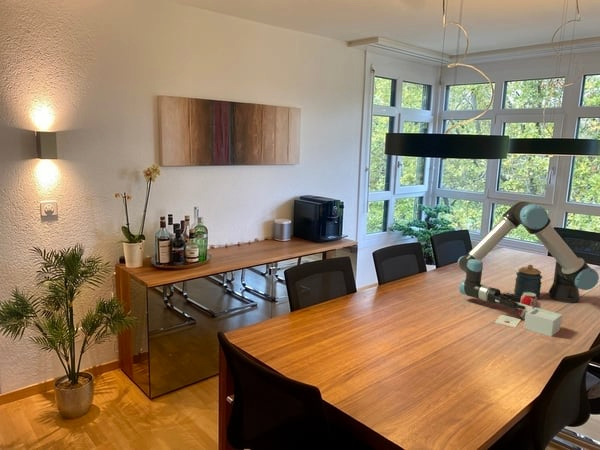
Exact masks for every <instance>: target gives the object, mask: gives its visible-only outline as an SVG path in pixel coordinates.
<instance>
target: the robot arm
mask: <svg viewBox="0 0 600 450" xmlns="http://www.w3.org/2000/svg"><path fill="white" fill-rule="evenodd" d="M500 218H501V219H500V220H499V221H498V222H497V223H496V224H495V225H494V226H493V227H492V228H491V229H490V230H489V231H488V233H486V234H485V236H483V238H482V239H480V240H479V242H477V244H476V245H474V247H473V248H472V249H471V250H469V252H467V254H466V255H463V256H462V255H461V256H460V257H459V258H458V260H457V265H458V268H460V269H461V271H463V272H464V273H465V279H463V280H461V282H460V284H459V293H461V295H465V296H467V297H471V298H475V299H478V300H481V301H482V302H485V301H486V302H488V303H491V304H495V305H496V304H498V305H502V306H503V307H507V308H509V309H512V310H515V311H517V310H519V309H521V310H524V311H527V312H528V311H530V310H532V309H533V307H532V306H528V305H525V304H521V303H520V300H521V296H518V295H515V294H513V293H509V292H506V293H501V290H500V289H499V288H496V287H492V286H489V285H484V284H481V283H482V276H483V275H482V274H483V269H484V263H483V261H482V260H483V259H484V258H486V256H487V255H488V254H489V253H491V251H492V250H493V249H494V248H495V247H496V246H497V245H498V244H499V243H500V242H501V241H502V240H503V239H504V238H505V237H506V236H507V235H508V234H509V233H511V231H512V230H514V229H518V227H519V226H521V225H522V226H523V228H525V230H526V231H527V233H528V234H529V235H535V237H536V238H537V239H538V240H539V242H540V243H541V244H542V245H543V246H544V248H545V249H546V251H548V252H549V254H551V256H552V257H553V258H554V259H555V260H556V261H555V268H554V274H553V281H552V282H553V283H552V284H551V286H550V288H549V289H548V292H547V296H548V297H549V298H550V299H553V300H554V301H558V302H564V303H570V304H571V303H574V304H575V303H578V302H580V299H581V296H580V291H579V290H582V291H590V290H592V289H593V288H594V287H596V286H597V285H598V282H599V279H600V275H599V272H598V271H596V270H595V269H594V268H591V266H590V265H588V263H587V261H585V260H584V258H582V257H577V255H576V254H575V252H573V250H572V249H571V248H570V247H569V245H568V244H567V243H566V242H565V240H564V239H563V238H562V237H561V236H560V234H559V233H558V232H557V231H556V229H554V227H553V226H552V225H551V222H552V221H551V220H552V219H550V218H549V214H548V211H547V210H546V209H545V208H544V207H543V206H541V205H539V204H534V203H531V202H528V201H519V202H516V203H514V204H513V205H512V206H510V208H509V209H507V210H506V211H505V212H504V213H503V214H502V215H501V217H500ZM541 305H542V303H541V302H539V301H537V306H536V308H539V309H541Z"/></svg>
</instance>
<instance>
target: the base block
mask: <svg viewBox="0 0 600 450" xmlns="http://www.w3.org/2000/svg"><path fill="white" fill-rule="evenodd" d="M562 319H563V314H562V313H558V312H553V311H550V310H546V309H543V308H536V307H535V308H533V309H532V310H530V311H528V312H527V313H526V314H525V319H524V322H523V329H525V330H528V331H532V332H534V333H538V334H541V335H545V336H548V337H552V336H554V335H555V334H556V333H558V332H559V331H560V330H561V325H562Z"/></svg>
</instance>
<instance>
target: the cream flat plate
mask: <svg viewBox="0 0 600 450" xmlns="http://www.w3.org/2000/svg"><path fill="white" fill-rule="evenodd" d="M521 320H522V319H520V318H517V317H513V316H508V315H503V314H500V316H498V318H497V319H496V320H495V321H494V323H495V324H498V325H503V326H508V327H511V328H517V326H518V324H520V323H521Z"/></svg>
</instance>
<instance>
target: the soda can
mask: <svg viewBox="0 0 600 450" xmlns="http://www.w3.org/2000/svg"><path fill="white" fill-rule="evenodd" d="M537 302H538V299H537V297H536V294H534V293H531V292H523V294H522V296H521V300H520V303H521V304H525V305H528V306H532V307H533V308H535V307H536V306H537ZM518 311H519V312H518V316H519V317H520V318H522V319H523V320H525V314H526V313H527V311H524V310H521V309H518Z"/></svg>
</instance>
